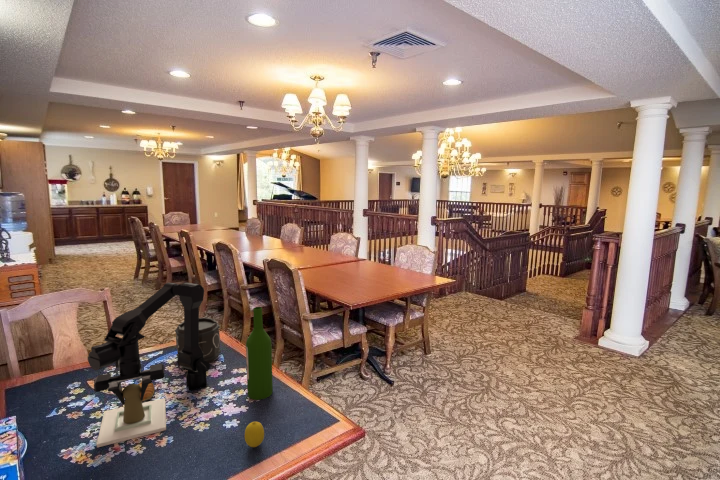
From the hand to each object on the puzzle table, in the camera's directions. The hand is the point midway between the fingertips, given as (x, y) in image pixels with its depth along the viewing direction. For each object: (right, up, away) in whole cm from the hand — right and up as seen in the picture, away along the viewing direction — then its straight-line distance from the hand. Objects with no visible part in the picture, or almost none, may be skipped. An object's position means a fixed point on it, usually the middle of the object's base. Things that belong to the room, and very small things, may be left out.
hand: (132, 401), depth 123 cm
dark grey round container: (+2, 0, +46) cm, 46 cm away
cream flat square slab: (0, -7, +1) cm, 7 cm away
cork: (0, -6, +1) cm, 6 cm away
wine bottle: (+36, -5, +18) cm, 41 cm away
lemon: (+42, -9, -10) cm, 44 cm away
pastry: (-5, -5, +17) cm, 18 cm away
